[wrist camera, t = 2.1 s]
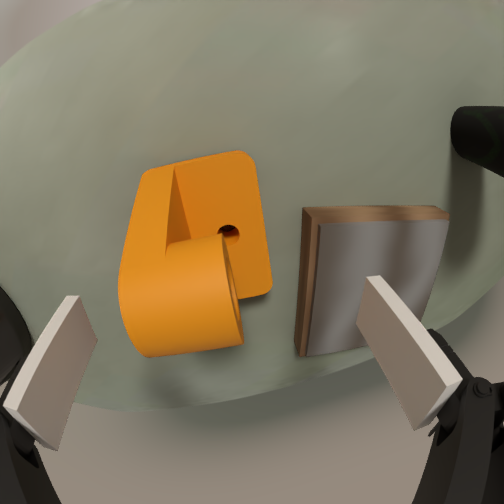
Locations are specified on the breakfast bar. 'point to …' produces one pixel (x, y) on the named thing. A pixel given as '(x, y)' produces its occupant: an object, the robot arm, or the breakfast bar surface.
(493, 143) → the cup
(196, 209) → the bracket
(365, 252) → the plinth
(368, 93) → the breakfast bar surface
